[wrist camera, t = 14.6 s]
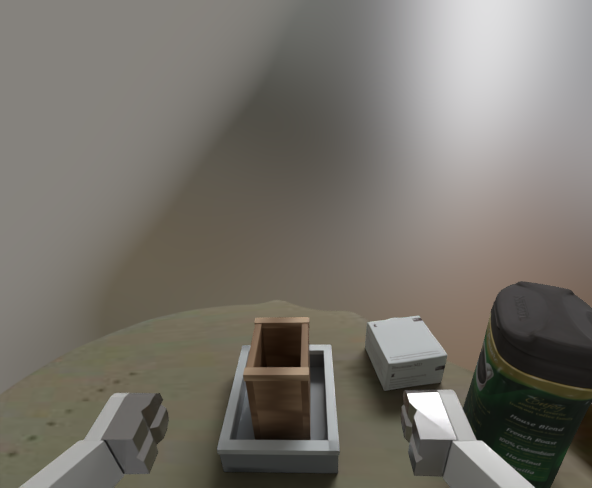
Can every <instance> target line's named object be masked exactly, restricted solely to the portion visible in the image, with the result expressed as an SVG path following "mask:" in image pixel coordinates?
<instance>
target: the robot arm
mask: <svg viewBox="0 0 592 488" xmlns="http://www.w3.org/2000/svg"><path fill="white" fill-rule="evenodd" d="M162 401H163V399H162V397H161V395H160V393H115V394H113V395H112V396H111V397H110V398H109V400H108V402H107V403H106V405H105V406H104V408H103V410H102V411H101V413H100V415H99V416H98V418H97V419H96V421H95V423H94V424H93V426H92V428H91V429H90V431H89V432H88V434H87V436H86V437H85V439H84V440H80V441H78V442H77V443H75V444H74V445H73V446H72V447H70V448H69V449H68V450H67V451H65V452H64V453H63V454H61V455H60V456H59V457H58V458H56V459H55V460H54V461H52V462H51V463H50V464H49V465H47V466H46V467H45V468H44V469H42V470H41V471H40V472H38V473H37V474H36V475H35V476H33V477H32V478H31V479H29V480H28V481H27V482H26V483H24V484H23V485H22V486H21V487H19V488H113V487H114V486H115V485H116V484H117V483H118V482H119V481H120V480H121V479H122V478H123V476H124V475H123V474H150V471H151V469H152V466H153V464H154V461H155V459H156V456H157V454H158V449H157V444H158V443H159V442H160V441H161V440H162V439H164V436H165V434H166V431H167V427H168V421H169V417H168V412H167V409H166V408H165V407H164V406H162V405H161V403H162ZM403 401H404V405H403V406H402V407H401V423H402V429H403V433H404V438H405V439H406V440H407V441H408V442H409V443H410V444H409V451H408V454H409V457H410V461H411V465H412V469H413V473H414V476H440V477H443V479H444V480H445V481H446V483H447V484H448V485H449V486H450V488H535V487H534V486H533V485H532V484H530V483H529V482H528V481H527V480H526V479H525V478H524V477H522V476H521V475H520V474H519V473H518V472H517V471H516V470H515V469H513V468H512V467H511V466H510V465H509V464H508V463H507V462H506V461H504V460H503V459H502V458H501V457H500V456H499V455H498V454H497V453H495V452H494V451H493V450H492V449H491V448H490V447H489V446H487V445H486V444H485V443H484V442H483V441H479V440H476V437H475V435H474V433H473V431H472V429H471V426H470V424H469V422H468V420H467V417H466V415H465V413H464V411H463V409H462V406H461V404H460V402H459V400H458V397H457V395H456V393H455V392H454V391H453V390H435V389H434V390H404V392H403Z"/></svg>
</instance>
